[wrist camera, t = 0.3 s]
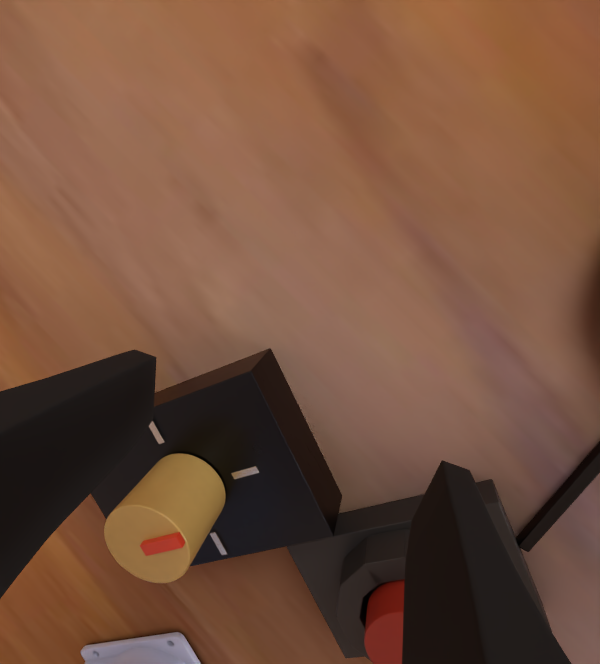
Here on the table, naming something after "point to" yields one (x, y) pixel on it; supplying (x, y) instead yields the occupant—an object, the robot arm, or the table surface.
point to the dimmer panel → (239, 458)
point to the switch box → (378, 562)
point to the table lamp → (561, 500)
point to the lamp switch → (385, 623)
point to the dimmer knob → (165, 518)
